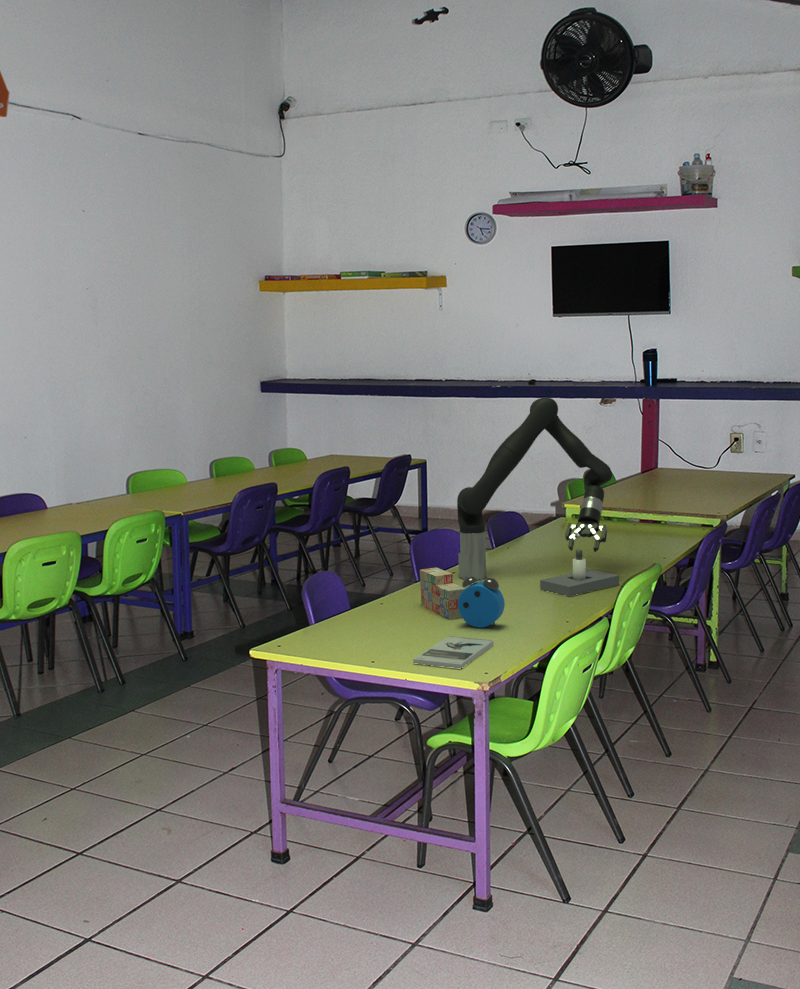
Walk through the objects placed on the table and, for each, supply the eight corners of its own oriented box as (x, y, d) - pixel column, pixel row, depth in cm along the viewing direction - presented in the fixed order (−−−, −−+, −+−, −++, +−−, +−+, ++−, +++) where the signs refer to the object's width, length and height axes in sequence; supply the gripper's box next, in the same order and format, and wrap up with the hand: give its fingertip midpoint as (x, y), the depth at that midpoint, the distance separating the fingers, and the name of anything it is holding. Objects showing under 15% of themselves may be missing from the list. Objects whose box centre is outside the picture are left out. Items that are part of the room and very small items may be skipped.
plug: (579, 589, 339) (579, 552, 337) (570, 587, 342) (569, 550, 341) (588, 587, 341) (588, 550, 340) (579, 585, 345) (578, 548, 343)
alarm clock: (505, 625, 298) (504, 576, 296) (498, 630, 293) (497, 581, 291) (465, 621, 304) (463, 574, 302) (457, 626, 299) (456, 578, 296)
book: (461, 671, 258) (460, 664, 258) (413, 666, 264) (413, 659, 264) (493, 647, 278) (493, 640, 278) (448, 642, 284) (448, 636, 284)
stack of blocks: (466, 617, 310) (465, 579, 308) (448, 620, 307) (447, 581, 306) (437, 602, 329) (436, 566, 327) (420, 605, 327) (419, 568, 325)
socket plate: (569, 597, 329) (569, 586, 329) (540, 590, 341) (540, 580, 340) (619, 585, 343) (618, 575, 342) (589, 578, 354) (589, 569, 354)
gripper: (569, 505, 354) (560, 543, 345) (608, 506, 348) (601, 544, 339) (573, 517, 359) (565, 554, 351) (612, 519, 353) (604, 557, 345)
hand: (582, 549), depth 345 cm, fingers open, 8 cm apart
